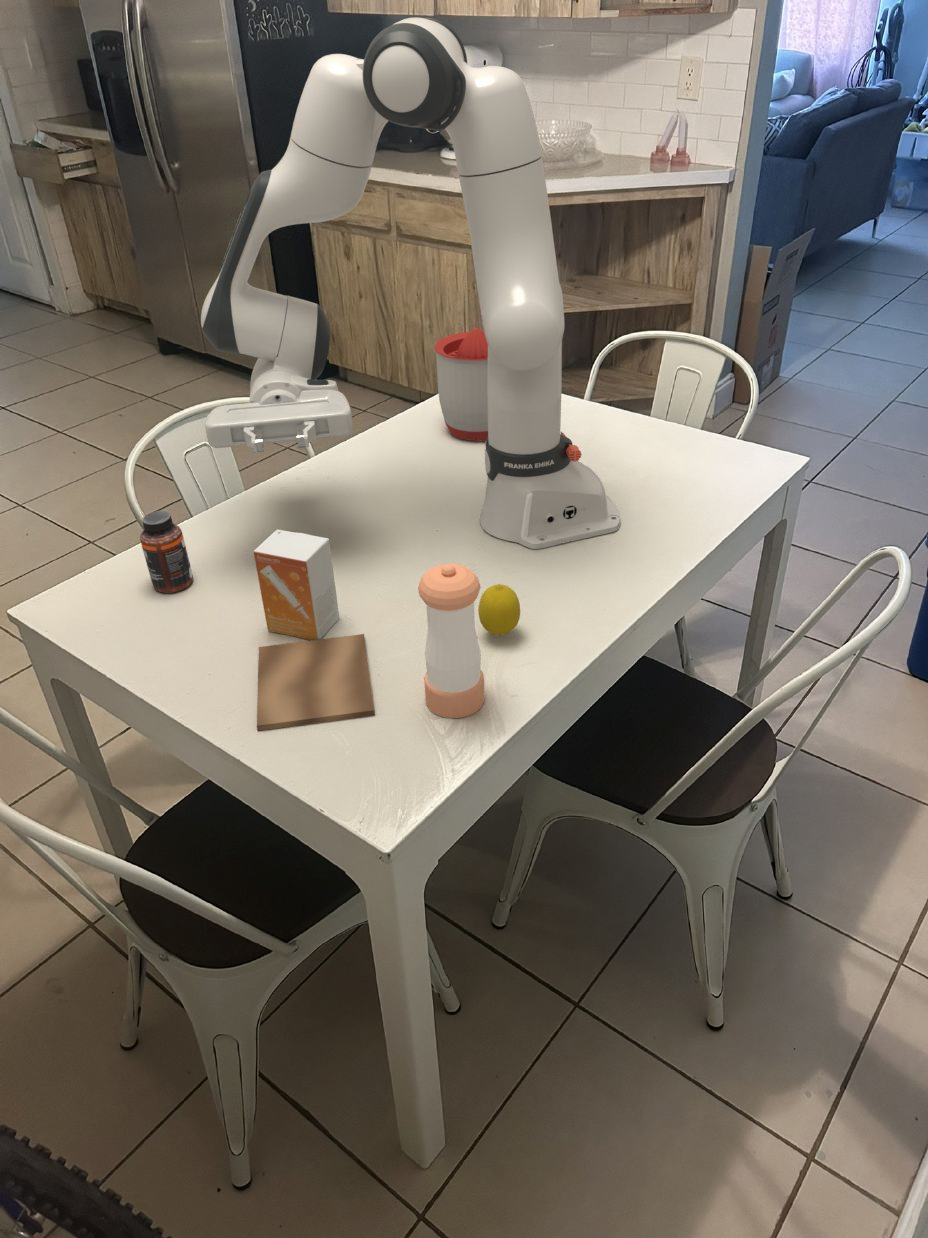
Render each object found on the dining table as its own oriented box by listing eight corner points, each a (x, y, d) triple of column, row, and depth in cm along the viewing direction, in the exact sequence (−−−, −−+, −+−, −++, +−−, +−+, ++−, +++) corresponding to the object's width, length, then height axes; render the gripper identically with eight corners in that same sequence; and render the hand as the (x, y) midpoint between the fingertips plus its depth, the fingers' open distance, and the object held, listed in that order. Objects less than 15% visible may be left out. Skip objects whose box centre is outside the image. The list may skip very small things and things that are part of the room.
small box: (267, 632, 127) (251, 550, 119) (290, 607, 131) (276, 527, 124) (319, 643, 124) (306, 560, 117) (341, 618, 129) (330, 536, 121)
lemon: (516, 649, 122) (516, 598, 117) (475, 645, 123) (473, 594, 118) (523, 625, 126) (523, 575, 121) (483, 621, 127) (481, 572, 122)
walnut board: (364, 638, 125) (364, 633, 124) (374, 715, 112) (374, 710, 111) (259, 651, 123) (258, 647, 122) (257, 730, 110) (256, 725, 109)
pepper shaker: (416, 711, 112) (405, 577, 101) (438, 675, 117) (430, 545, 106) (472, 724, 110) (467, 589, 99) (492, 687, 115) (490, 555, 104)
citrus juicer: (499, 455, 170) (498, 348, 159) (423, 436, 178) (416, 333, 167) (541, 425, 181) (542, 323, 170) (467, 409, 189) (463, 310, 178)
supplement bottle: (201, 576, 139) (186, 510, 133) (179, 597, 135) (162, 529, 128) (168, 570, 141) (151, 504, 134) (145, 591, 136) (126, 524, 130)
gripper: (203, 392, 132) (197, 430, 121) (346, 379, 135) (352, 415, 123) (211, 433, 136) (206, 474, 125) (350, 419, 138) (357, 458, 127)
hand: (280, 444), depth 124 cm, fingers open, 5 cm apart
